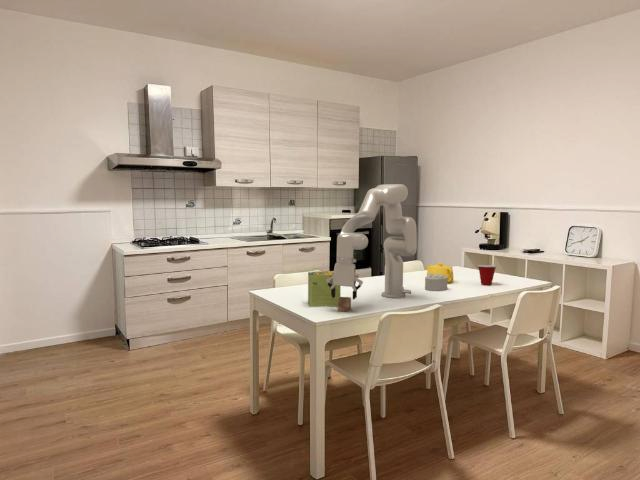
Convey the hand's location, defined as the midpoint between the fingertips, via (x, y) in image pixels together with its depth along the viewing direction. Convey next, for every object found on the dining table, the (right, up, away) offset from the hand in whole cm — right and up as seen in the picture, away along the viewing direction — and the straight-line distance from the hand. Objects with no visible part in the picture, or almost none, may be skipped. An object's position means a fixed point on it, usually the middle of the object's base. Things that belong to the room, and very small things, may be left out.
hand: (343, 298), depth 202 cm
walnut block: (0, -6, +1) cm, 6 cm away
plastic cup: (+90, -1, +66) cm, 112 cm away
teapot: (+64, 0, +75) cm, 99 cm away
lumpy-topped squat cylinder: (+55, -2, +51) cm, 75 cm away
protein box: (-9, -5, +14) cm, 18 cm away
